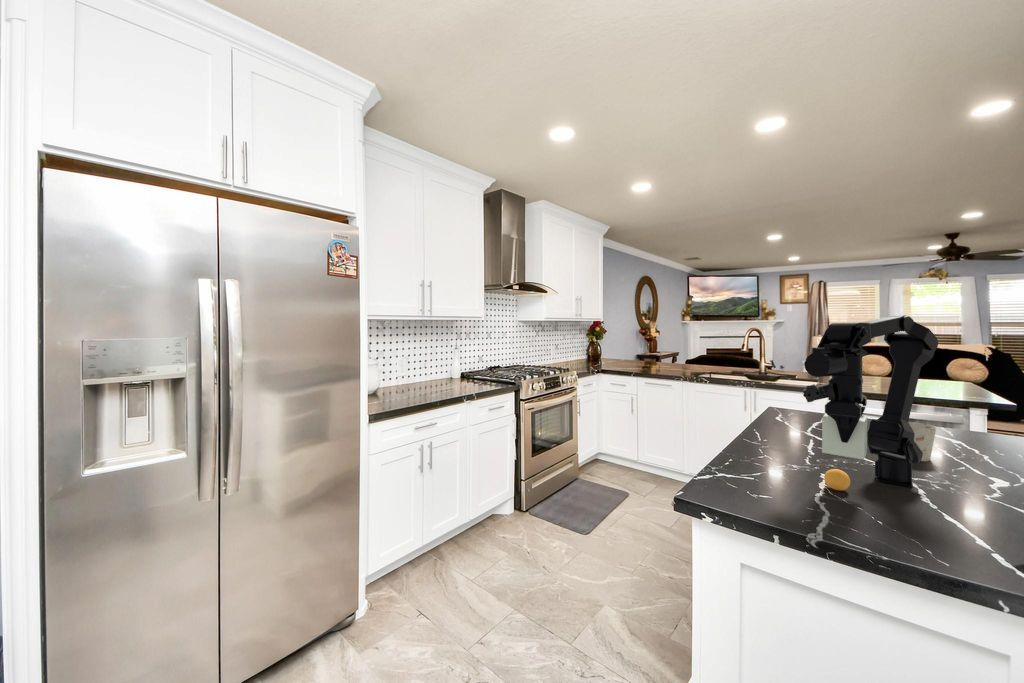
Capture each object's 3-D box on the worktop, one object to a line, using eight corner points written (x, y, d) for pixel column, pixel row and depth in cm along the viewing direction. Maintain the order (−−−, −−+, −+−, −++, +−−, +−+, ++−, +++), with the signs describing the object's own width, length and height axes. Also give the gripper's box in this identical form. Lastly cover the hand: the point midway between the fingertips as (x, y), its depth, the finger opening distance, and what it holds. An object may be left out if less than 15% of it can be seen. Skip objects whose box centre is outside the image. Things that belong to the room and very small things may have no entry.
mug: (944, 463, 114) (944, 428, 114) (892, 461, 117) (892, 427, 116) (920, 454, 122) (920, 422, 122) (873, 452, 125) (873, 421, 125)
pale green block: (866, 451, 97) (867, 415, 97) (864, 459, 92) (864, 421, 91) (826, 445, 103) (827, 411, 102) (821, 452, 97) (822, 416, 97)
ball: (840, 463, 100) (821, 472, 103) (837, 468, 96) (817, 477, 99) (857, 481, 97) (837, 490, 100) (854, 487, 94) (833, 496, 97)
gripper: (812, 369, 109) (812, 426, 109) (798, 376, 95) (798, 441, 96) (866, 371, 101) (866, 433, 101) (859, 379, 87) (859, 450, 88)
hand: (846, 438), depth 97 cm, fingers closed on pale green block, 8 cm apart
